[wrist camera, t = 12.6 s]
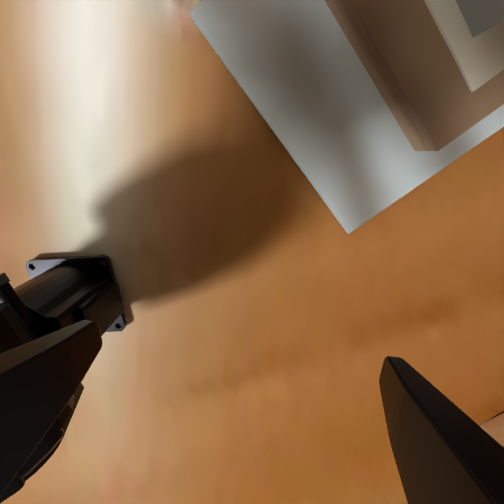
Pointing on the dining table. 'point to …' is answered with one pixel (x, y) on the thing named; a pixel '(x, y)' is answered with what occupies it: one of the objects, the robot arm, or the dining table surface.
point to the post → (481, 14)
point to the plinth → (362, 88)
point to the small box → (495, 428)
